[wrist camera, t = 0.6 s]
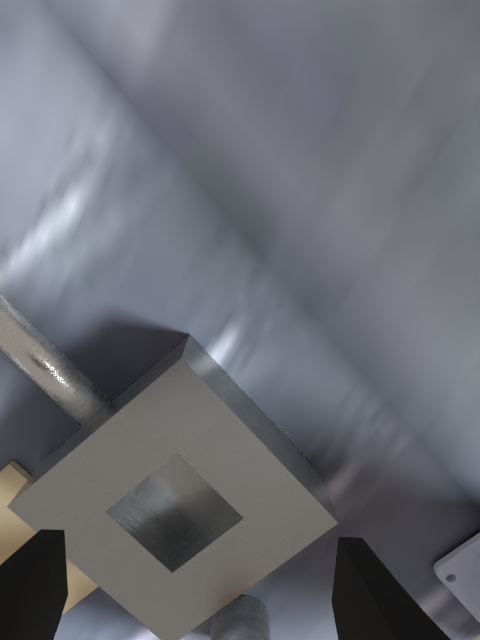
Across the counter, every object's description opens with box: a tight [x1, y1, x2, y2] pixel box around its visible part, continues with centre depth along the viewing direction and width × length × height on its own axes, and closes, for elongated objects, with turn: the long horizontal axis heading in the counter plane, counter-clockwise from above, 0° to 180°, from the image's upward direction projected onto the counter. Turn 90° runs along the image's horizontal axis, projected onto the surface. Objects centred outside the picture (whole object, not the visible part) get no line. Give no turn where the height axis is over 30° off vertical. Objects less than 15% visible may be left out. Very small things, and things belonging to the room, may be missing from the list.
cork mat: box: [0, 460, 99, 615], centre depth 23 cm, size 8×8×1 cm
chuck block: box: [0, 293, 338, 640], centre depth 19 cm, size 19×10×4 cm, turn 41°
